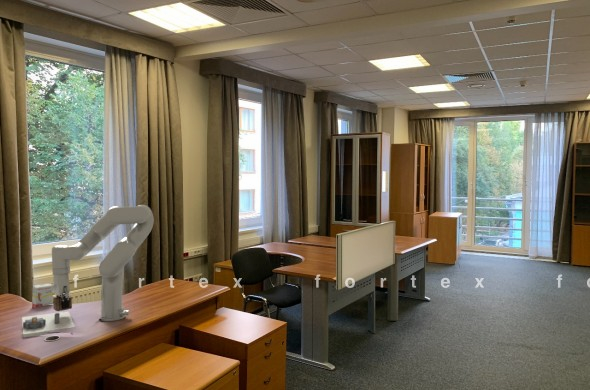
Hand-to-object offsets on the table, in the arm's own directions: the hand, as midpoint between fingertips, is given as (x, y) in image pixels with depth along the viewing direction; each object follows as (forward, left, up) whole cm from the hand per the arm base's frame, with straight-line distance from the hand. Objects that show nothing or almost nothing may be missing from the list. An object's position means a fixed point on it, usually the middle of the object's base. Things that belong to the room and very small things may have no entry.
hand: (62, 306), depth 210 cm
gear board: (+2, +8, -6) cm, 11 cm away
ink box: (+20, -18, -7) cm, 28 cm away
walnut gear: (0, 0, -1) cm, 1 cm away
